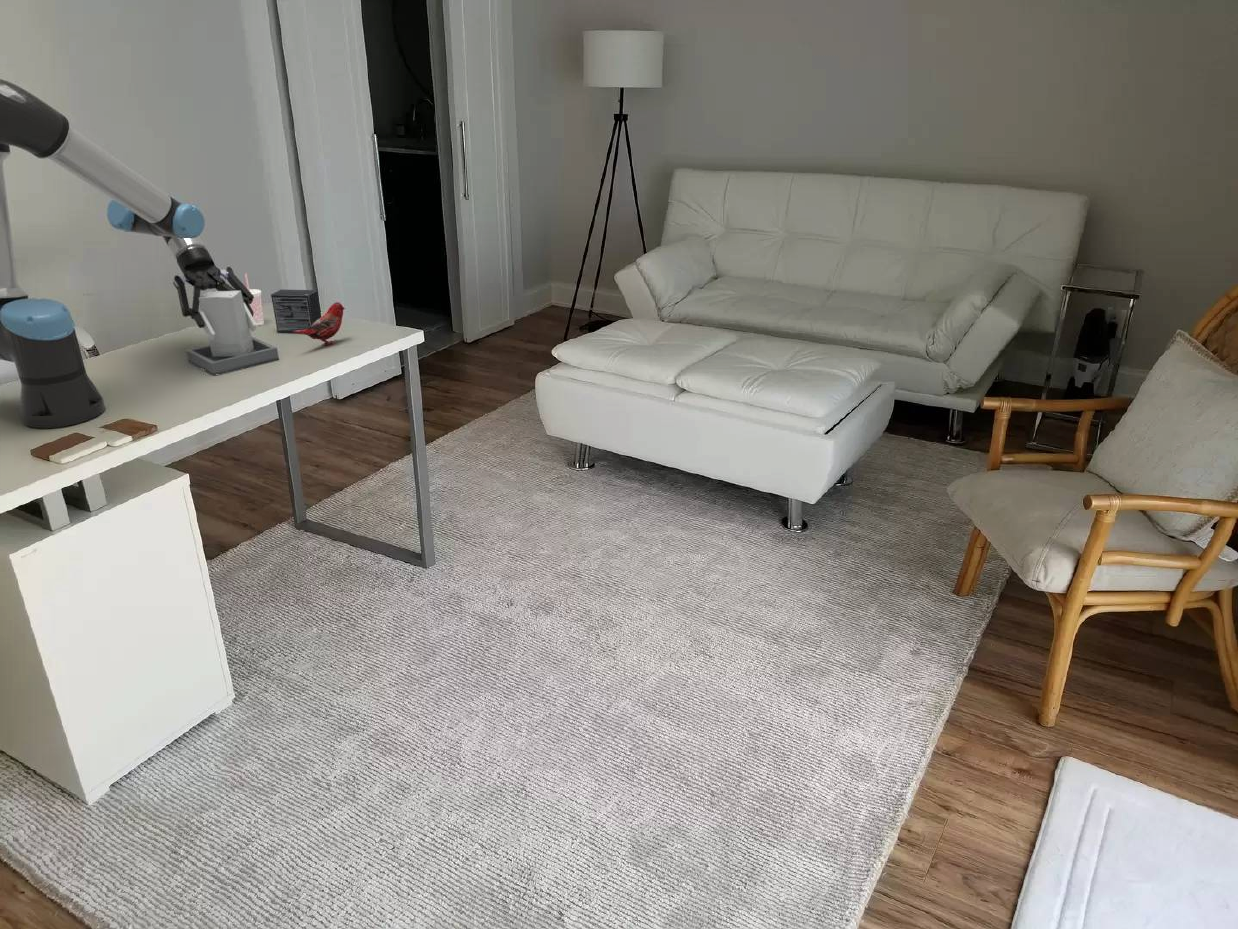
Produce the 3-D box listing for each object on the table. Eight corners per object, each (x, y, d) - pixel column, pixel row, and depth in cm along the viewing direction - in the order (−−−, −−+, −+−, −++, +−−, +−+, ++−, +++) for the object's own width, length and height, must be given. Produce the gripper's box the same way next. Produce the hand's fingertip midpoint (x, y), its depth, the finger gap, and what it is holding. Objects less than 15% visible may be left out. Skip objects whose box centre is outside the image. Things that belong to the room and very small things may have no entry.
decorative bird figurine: (352, 338, 234) (348, 300, 229) (299, 357, 220) (293, 317, 216) (344, 336, 235) (339, 299, 231) (291, 355, 221) (285, 315, 217)
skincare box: (254, 349, 219) (244, 289, 213) (244, 357, 214) (233, 296, 207) (220, 349, 219) (209, 289, 213) (209, 357, 214) (197, 295, 208)
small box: (324, 327, 243) (318, 289, 239) (314, 334, 237) (308, 295, 233) (286, 326, 244) (280, 288, 239) (276, 333, 238) (269, 294, 234)
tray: (214, 375, 208) (211, 363, 206) (188, 362, 217) (186, 350, 215) (279, 359, 218) (277, 347, 217) (252, 347, 227) (250, 335, 226)
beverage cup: (238, 325, 244) (228, 274, 238) (255, 319, 249) (246, 269, 243) (254, 328, 242) (244, 277, 236) (271, 322, 247) (262, 272, 241)
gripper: (233, 257, 225) (274, 331, 222) (142, 272, 211) (184, 351, 208) (239, 238, 220) (281, 314, 216) (145, 252, 205) (189, 334, 202)
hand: (233, 332), depth 212 cm, fingers closed on skincare box, 9 cm apart
